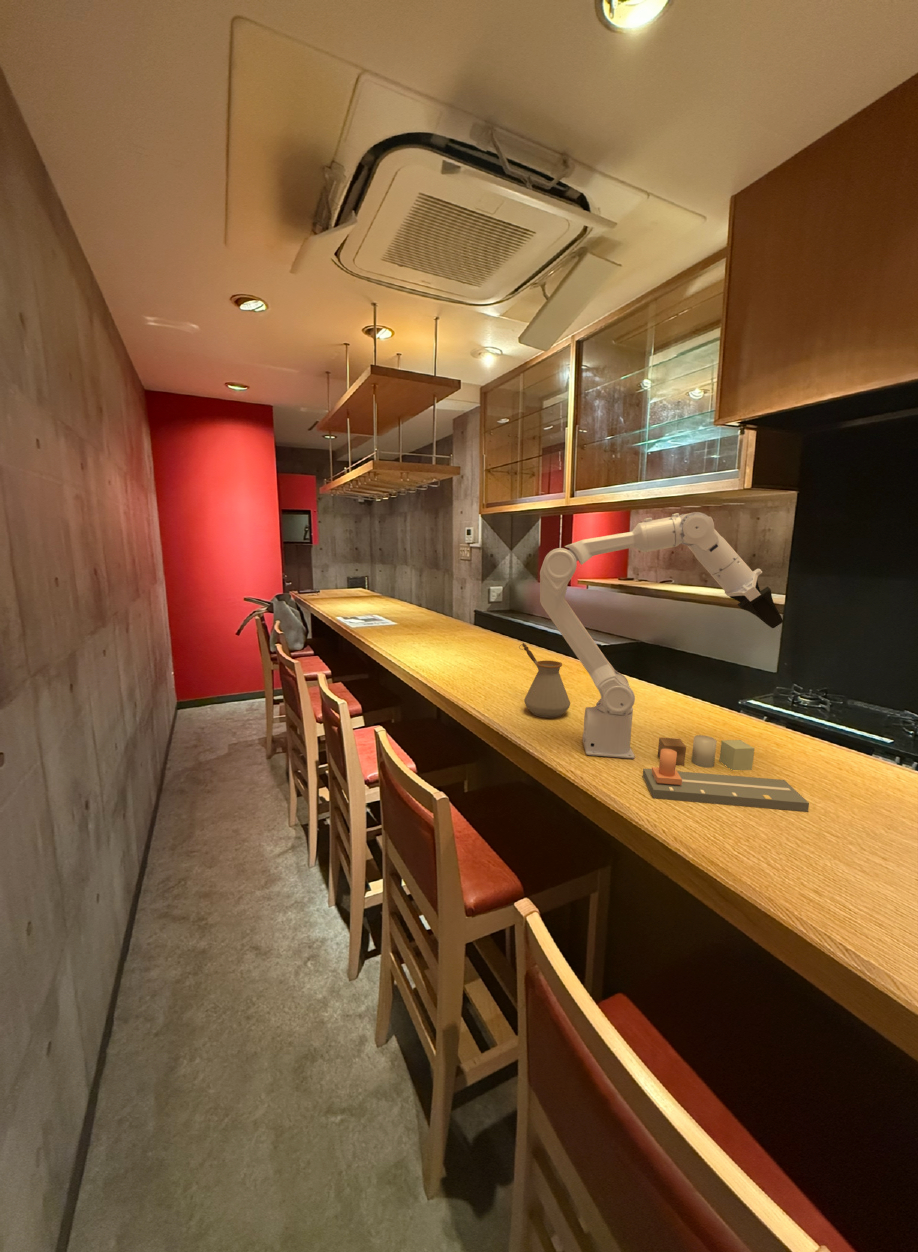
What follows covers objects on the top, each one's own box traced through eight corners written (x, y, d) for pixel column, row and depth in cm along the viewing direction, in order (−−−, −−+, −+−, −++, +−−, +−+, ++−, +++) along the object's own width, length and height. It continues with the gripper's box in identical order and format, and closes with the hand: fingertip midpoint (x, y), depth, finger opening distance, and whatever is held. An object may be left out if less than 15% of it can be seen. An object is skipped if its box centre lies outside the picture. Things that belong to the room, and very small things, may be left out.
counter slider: (657, 782, 84) (659, 755, 83) (651, 772, 88) (653, 746, 87) (681, 784, 83) (684, 757, 83) (675, 774, 87) (677, 747, 86)
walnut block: (662, 764, 95) (664, 745, 95) (657, 756, 99) (659, 737, 99) (684, 766, 95) (686, 746, 94) (678, 757, 99) (680, 738, 98)
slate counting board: (652, 797, 82) (653, 788, 82) (642, 776, 90) (643, 767, 90) (807, 811, 79) (809, 802, 79) (783, 787, 87) (784, 778, 86)
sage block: (732, 771, 93) (735, 748, 92) (719, 761, 97) (721, 740, 96) (751, 770, 94) (754, 748, 93) (737, 761, 97) (740, 739, 97)
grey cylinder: (695, 766, 94) (697, 742, 94) (688, 758, 98) (691, 734, 98) (717, 768, 94) (719, 744, 93) (709, 759, 98) (712, 736, 97)
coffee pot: (578, 718, 120) (582, 658, 117) (536, 722, 116) (539, 661, 114) (538, 692, 140) (540, 641, 137) (501, 696, 136) (503, 643, 134)
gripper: (753, 555, 83) (805, 615, 83) (735, 546, 97) (780, 598, 96) (716, 582, 86) (766, 640, 86) (703, 569, 99) (747, 619, 99)
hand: (771, 619), depth 91 cm, fingers open, 7 cm apart
